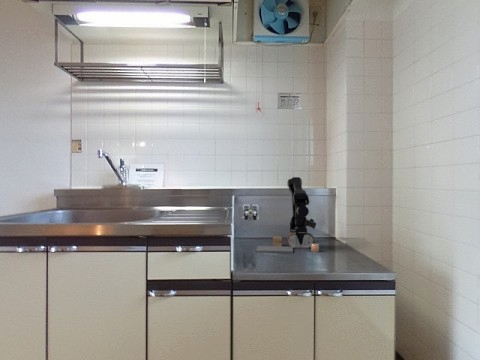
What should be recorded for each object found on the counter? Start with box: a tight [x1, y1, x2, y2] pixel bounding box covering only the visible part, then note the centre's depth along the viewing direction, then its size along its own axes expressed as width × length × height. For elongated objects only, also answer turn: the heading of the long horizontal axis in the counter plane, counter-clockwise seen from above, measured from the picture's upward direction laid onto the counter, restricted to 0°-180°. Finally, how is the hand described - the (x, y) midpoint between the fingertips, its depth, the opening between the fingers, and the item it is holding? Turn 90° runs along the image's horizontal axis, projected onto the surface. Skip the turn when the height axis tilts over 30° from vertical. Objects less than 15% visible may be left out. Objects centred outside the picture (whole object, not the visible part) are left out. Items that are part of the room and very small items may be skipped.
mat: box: [255, 245, 294, 254], centre depth 176 cm, size 12×19×1 cm, turn 82°
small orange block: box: [310, 242, 320, 253], centre depth 172 cm, size 4×4×4 cm
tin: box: [286, 232, 315, 249], centre depth 182 cm, size 15×3×8 cm, turn 84°
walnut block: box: [272, 236, 283, 246], centre depth 188 cm, size 5×5×5 cm
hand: (300, 243), depth 182 cm, fingers open, 9 cm apart
